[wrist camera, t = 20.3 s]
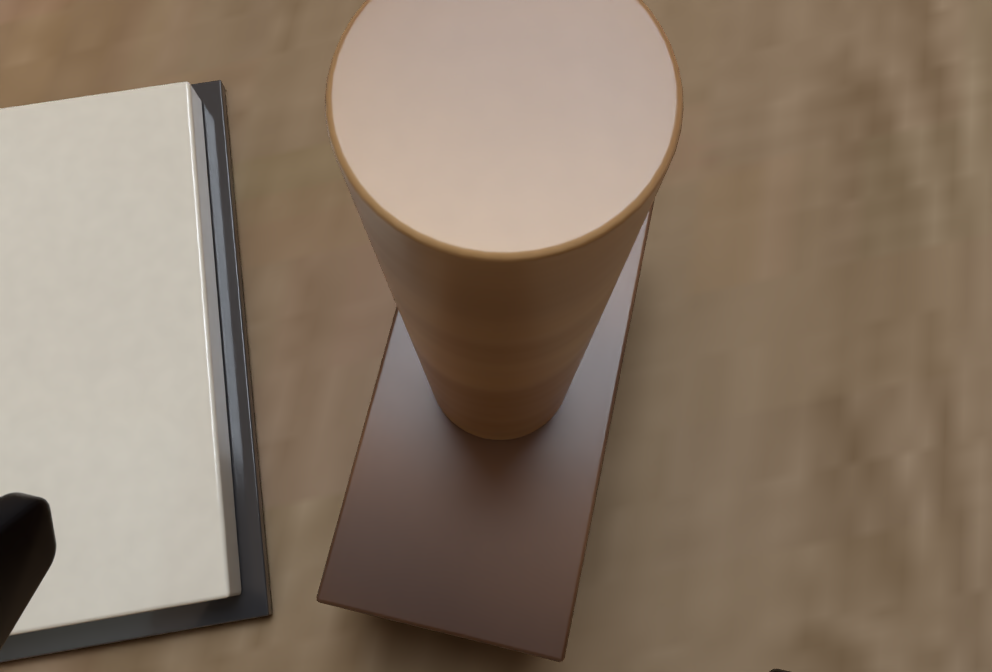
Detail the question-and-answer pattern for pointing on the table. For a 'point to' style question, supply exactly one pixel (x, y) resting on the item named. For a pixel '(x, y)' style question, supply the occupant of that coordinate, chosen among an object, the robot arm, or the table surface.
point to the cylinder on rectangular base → (493, 296)
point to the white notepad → (128, 366)
